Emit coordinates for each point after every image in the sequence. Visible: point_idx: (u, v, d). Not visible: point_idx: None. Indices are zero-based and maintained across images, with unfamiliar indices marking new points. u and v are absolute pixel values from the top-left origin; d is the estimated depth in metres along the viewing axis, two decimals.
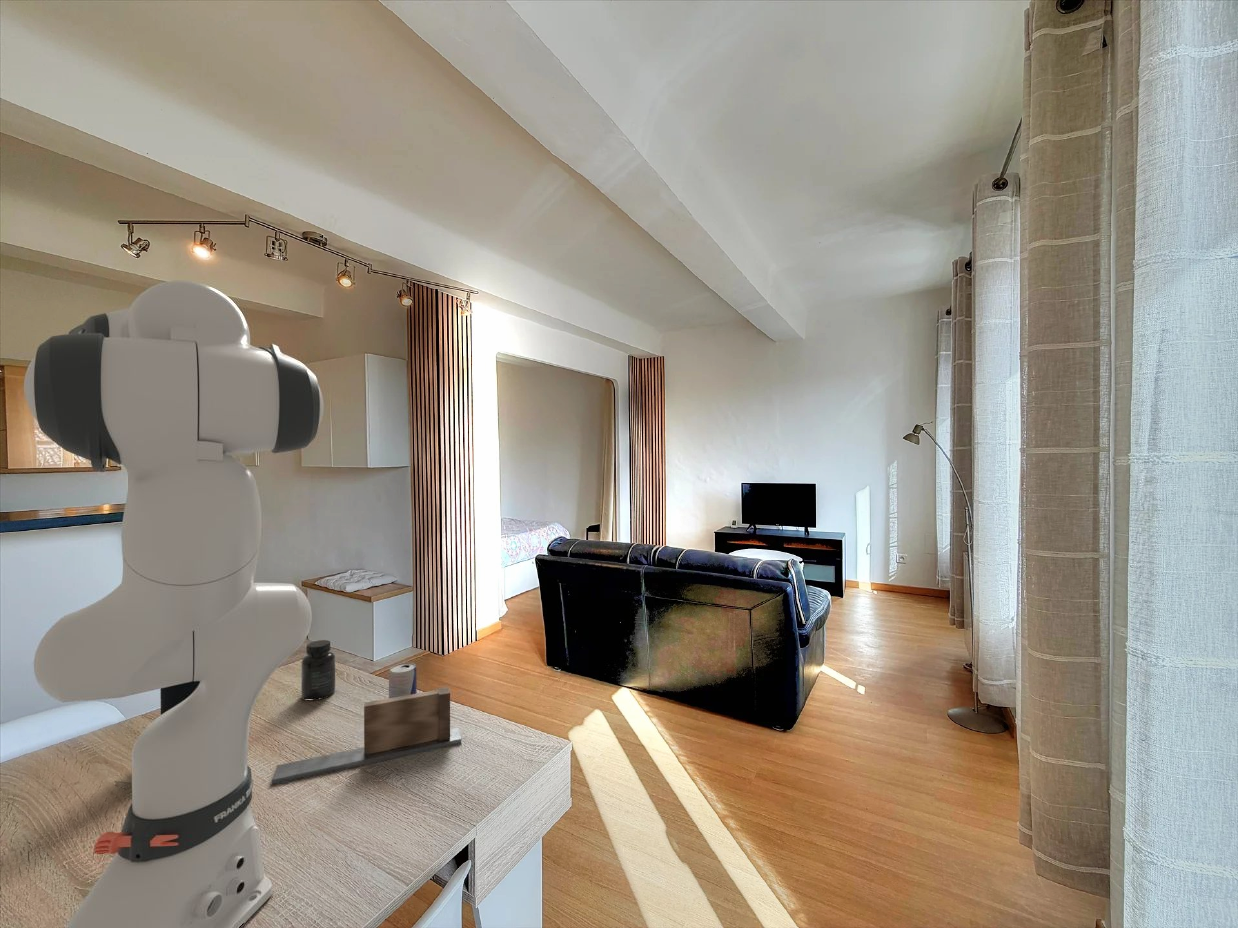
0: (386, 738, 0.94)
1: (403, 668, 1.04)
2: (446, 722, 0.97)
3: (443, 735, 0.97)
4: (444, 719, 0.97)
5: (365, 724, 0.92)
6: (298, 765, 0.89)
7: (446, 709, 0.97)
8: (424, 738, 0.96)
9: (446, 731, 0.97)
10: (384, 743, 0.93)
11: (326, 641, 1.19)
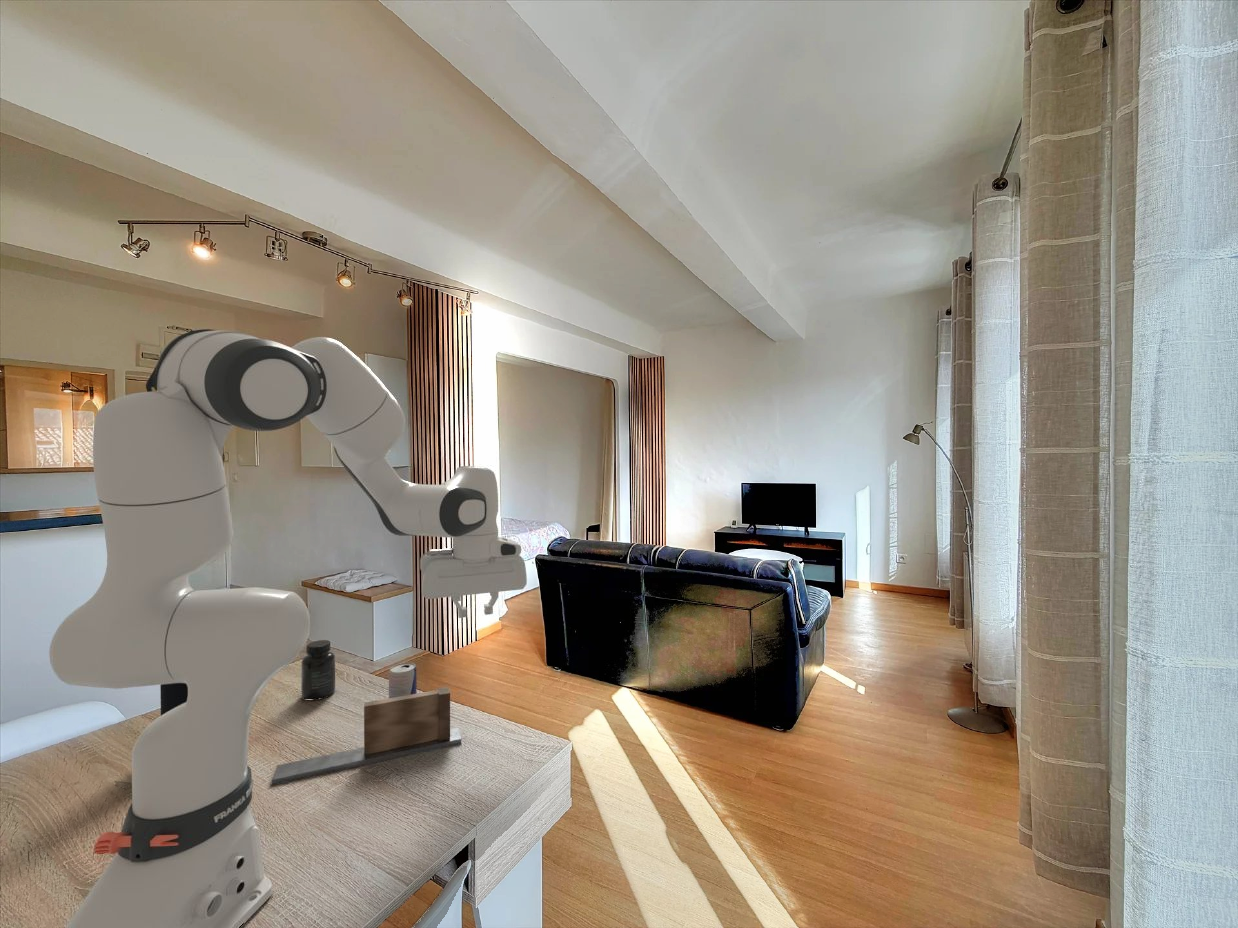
0: (386, 738, 0.94)
1: (403, 668, 1.04)
2: (446, 722, 0.97)
3: (443, 735, 0.97)
4: (444, 719, 0.97)
5: (365, 724, 0.92)
6: (298, 765, 0.89)
7: (446, 709, 0.97)
8: (424, 738, 0.96)
9: (446, 731, 0.97)
10: (384, 743, 0.93)
11: (326, 641, 1.19)
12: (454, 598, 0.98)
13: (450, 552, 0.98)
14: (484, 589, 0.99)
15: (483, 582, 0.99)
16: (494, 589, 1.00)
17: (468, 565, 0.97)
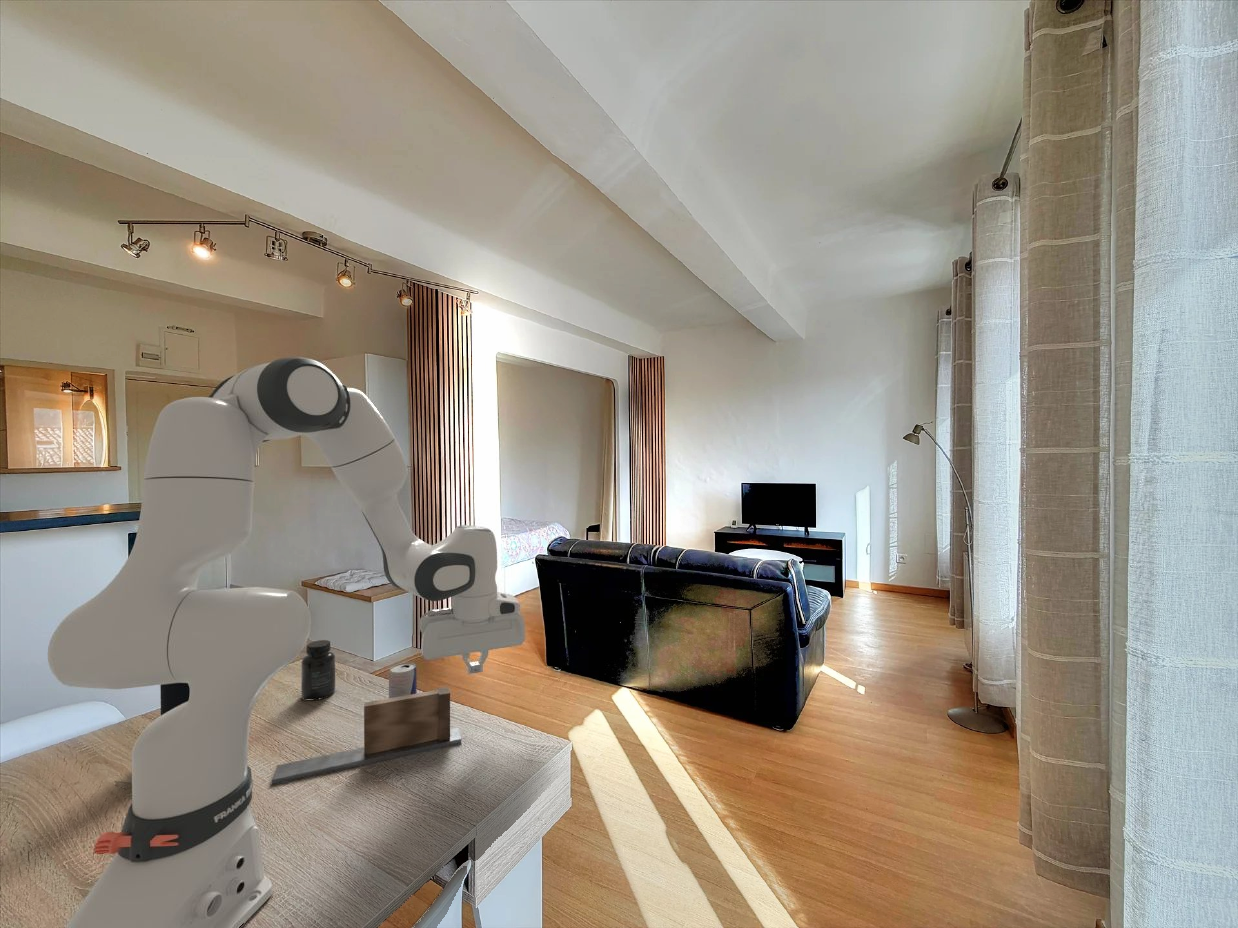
0: (386, 738, 0.94)
1: (403, 668, 1.04)
2: (446, 722, 0.97)
3: (443, 735, 0.97)
4: (444, 719, 0.97)
5: (365, 724, 0.92)
6: (298, 765, 0.89)
7: (446, 709, 0.97)
8: (424, 738, 0.96)
9: (446, 731, 0.97)
10: (384, 743, 0.93)
11: (326, 641, 1.19)
12: (463, 656, 0.99)
13: (449, 612, 0.98)
14: (483, 647, 1.00)
15: (482, 640, 1.00)
16: (493, 646, 1.01)
17: (467, 625, 0.98)
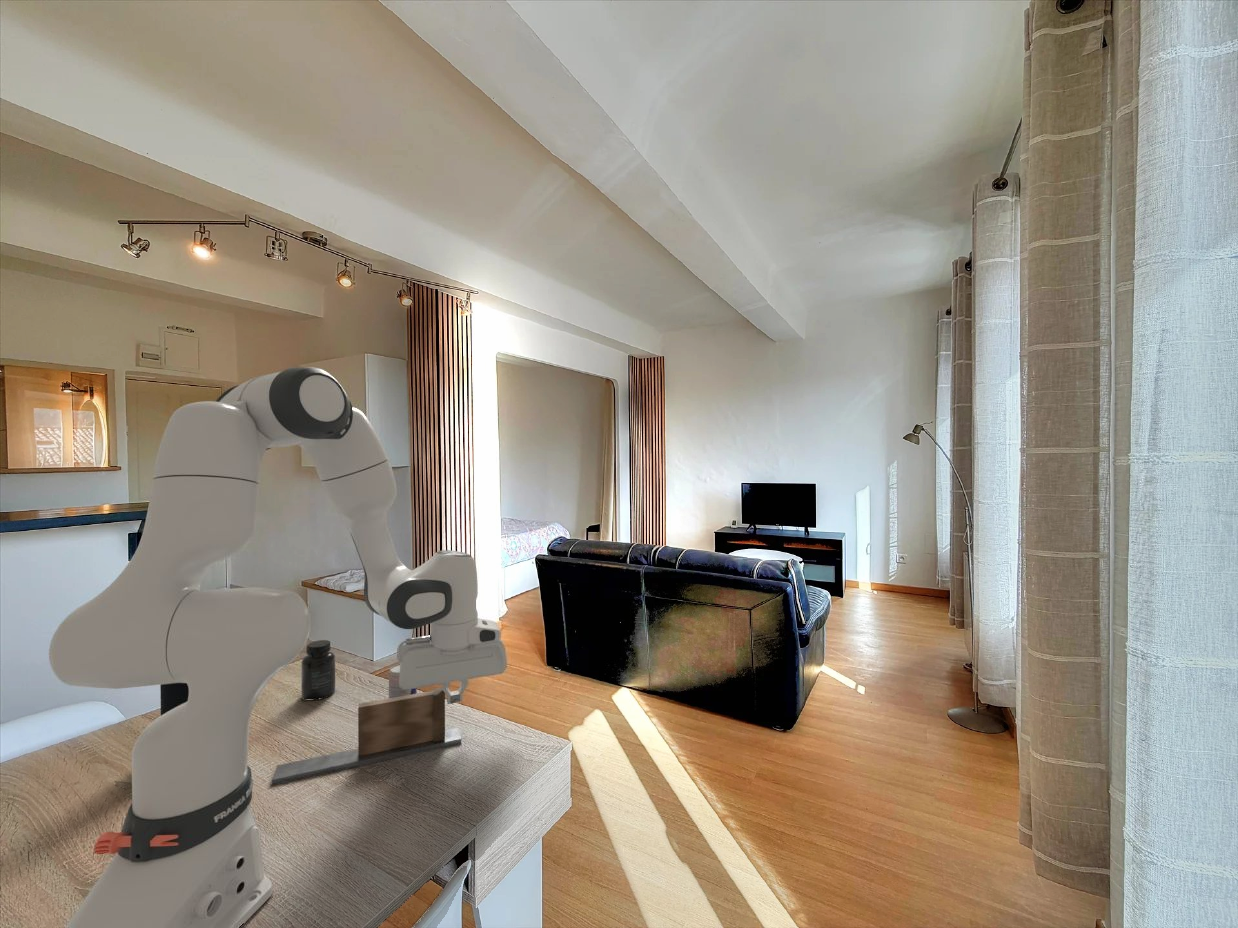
0: (380, 740, 0.93)
1: None
2: (441, 723, 0.97)
3: (438, 736, 0.97)
4: (439, 720, 0.97)
5: (359, 725, 0.92)
6: (298, 765, 0.89)
7: (441, 710, 0.97)
8: (419, 739, 0.96)
9: (441, 732, 0.97)
10: (378, 744, 0.93)
11: (326, 641, 1.19)
12: (442, 685, 0.97)
13: (428, 640, 0.96)
14: (463, 676, 0.98)
15: (462, 669, 0.98)
16: (473, 675, 0.99)
17: (446, 653, 0.96)
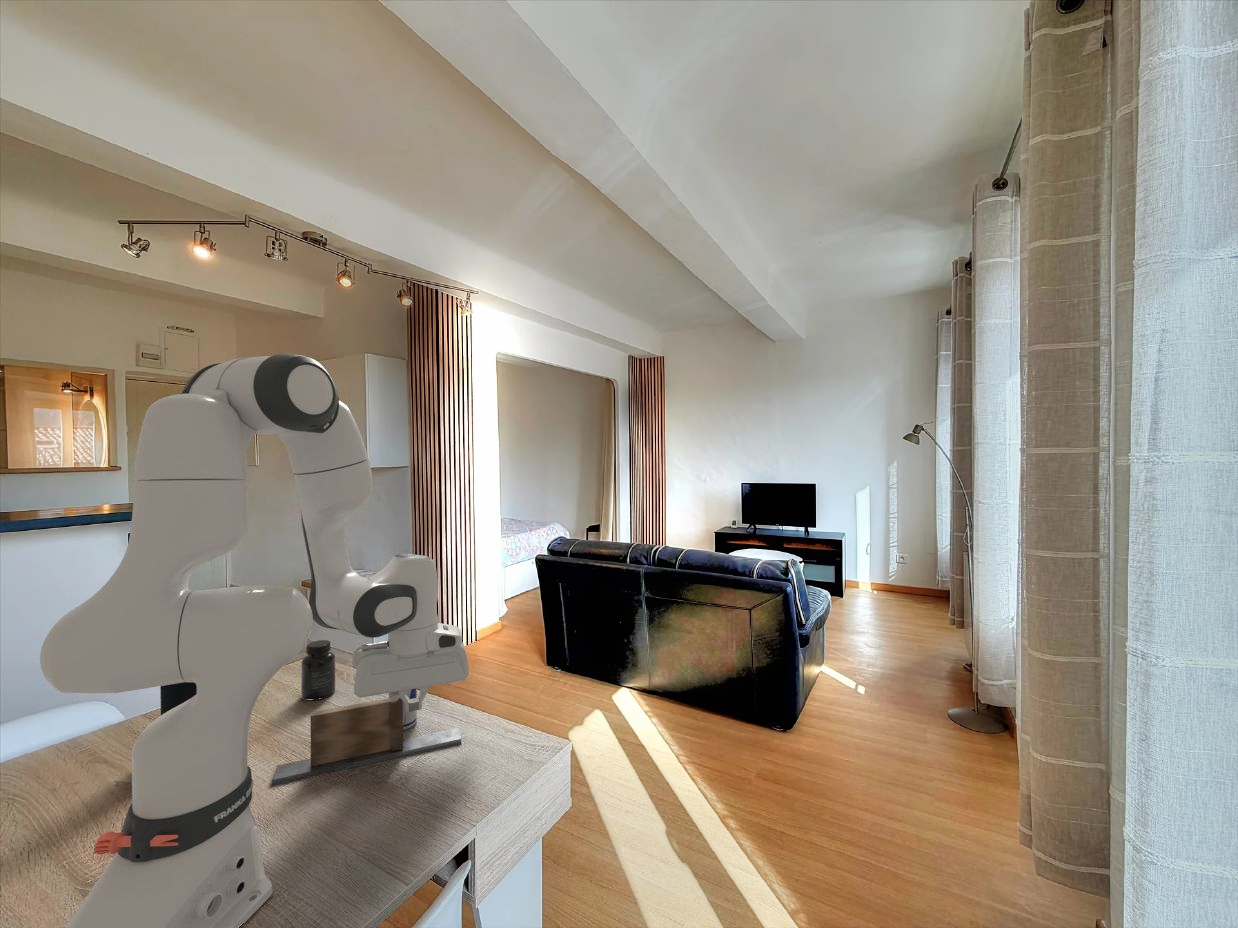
0: (334, 749, 0.90)
1: None
2: (399, 732, 0.94)
3: (396, 745, 0.94)
4: (396, 728, 0.94)
5: (312, 734, 0.89)
6: (298, 765, 0.89)
7: (398, 718, 0.94)
8: (375, 749, 0.93)
9: (398, 741, 0.94)
10: (332, 754, 0.90)
11: (326, 641, 1.19)
12: (400, 692, 0.94)
13: (385, 646, 0.93)
14: (422, 683, 0.95)
15: (421, 676, 0.95)
16: (432, 682, 0.95)
17: (403, 660, 0.93)
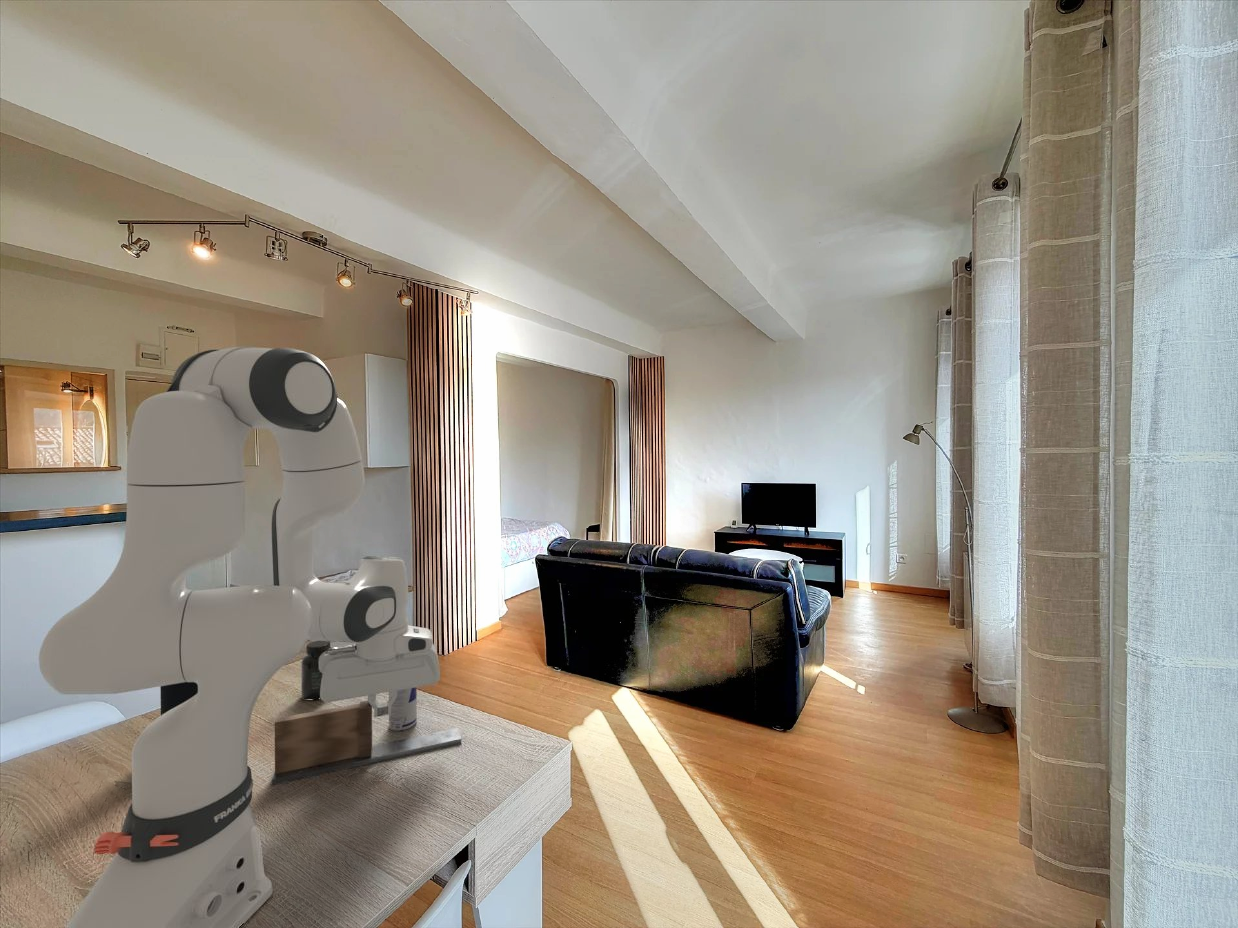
0: (300, 756, 0.88)
1: None
2: (367, 738, 0.92)
3: (364, 752, 0.91)
4: (364, 735, 0.91)
5: (276, 741, 0.86)
6: None
7: (367, 724, 0.92)
8: (343, 756, 0.91)
9: (367, 748, 0.92)
10: (297, 761, 0.88)
11: (326, 641, 1.19)
12: (368, 697, 0.92)
13: (353, 649, 0.91)
14: (391, 687, 0.93)
15: (390, 680, 0.93)
16: (402, 686, 0.94)
17: (371, 664, 0.91)
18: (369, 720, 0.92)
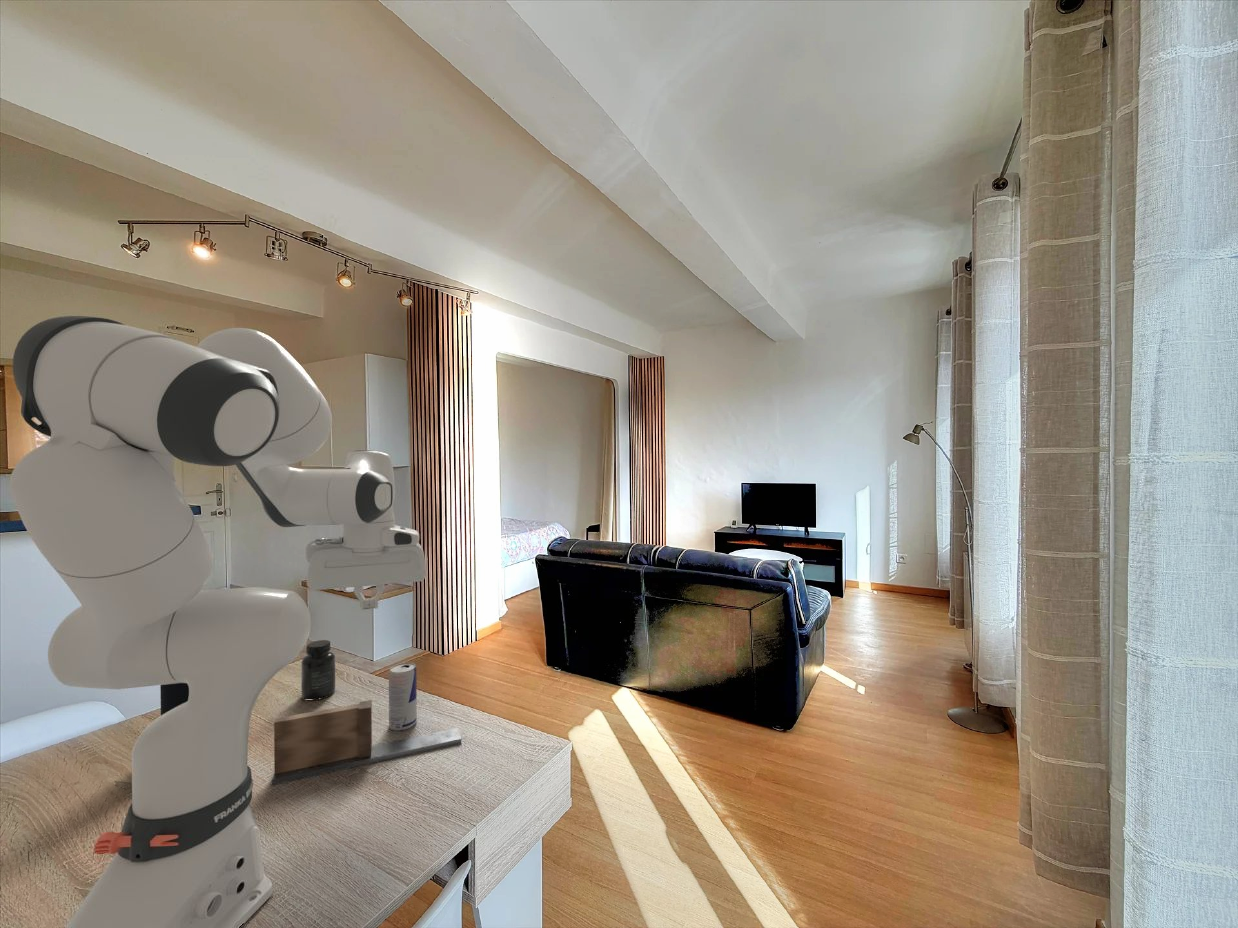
0: (299, 756, 0.88)
1: (403, 668, 1.04)
2: (367, 738, 0.92)
3: (363, 752, 0.91)
4: (364, 735, 0.91)
5: (275, 741, 0.86)
6: None
7: (366, 724, 0.92)
8: (342, 756, 0.91)
9: (366, 748, 0.92)
10: (297, 761, 0.88)
11: (326, 641, 1.19)
12: (355, 589, 0.93)
13: (340, 541, 0.93)
14: (377, 580, 0.94)
15: (376, 573, 0.94)
16: (388, 580, 0.95)
17: (358, 555, 0.92)
18: (369, 720, 0.92)
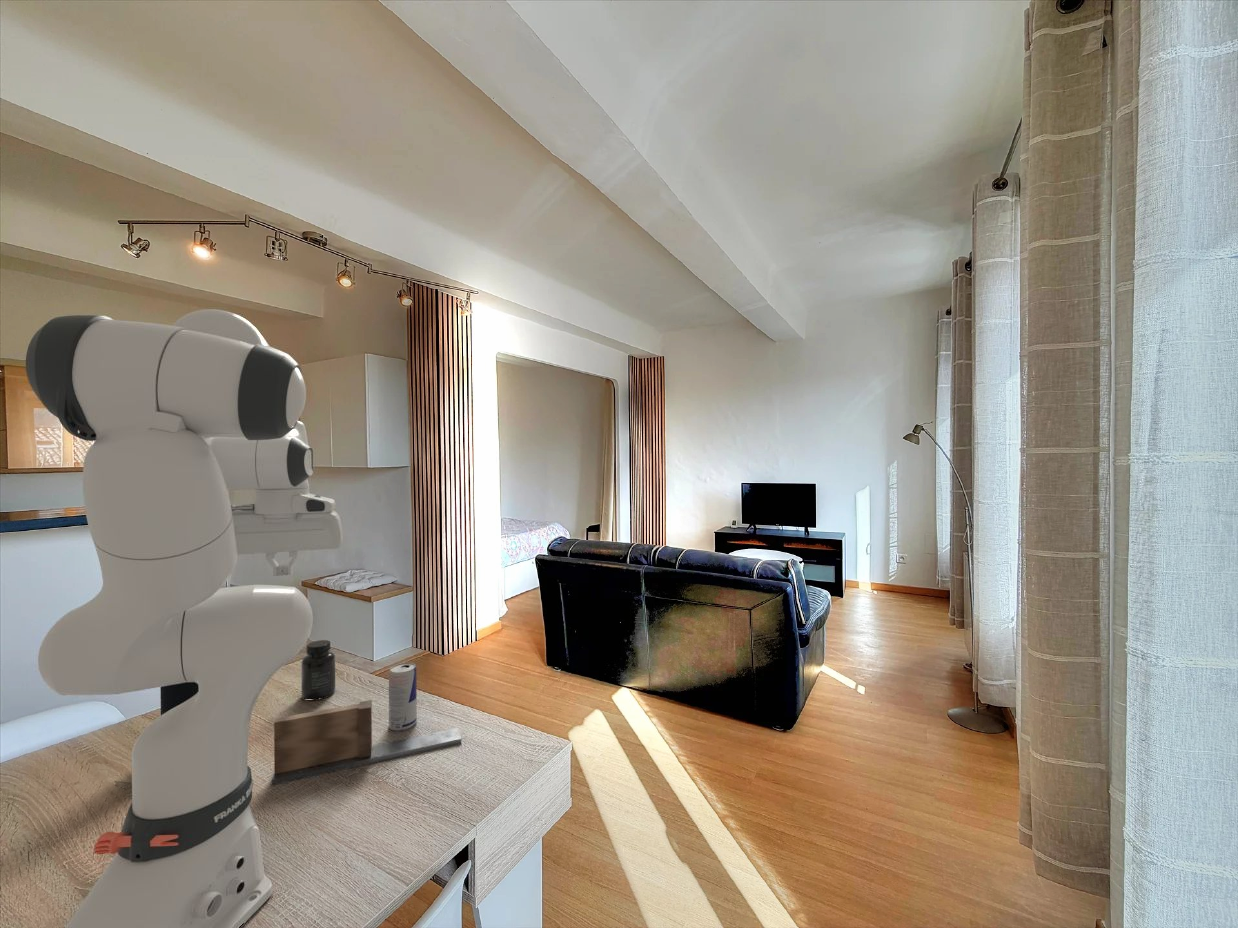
0: (299, 756, 0.88)
1: (403, 668, 1.04)
2: (367, 738, 0.92)
3: (363, 752, 0.91)
4: (364, 735, 0.91)
5: (275, 741, 0.86)
6: None
7: (366, 724, 0.92)
8: (342, 756, 0.91)
9: (366, 748, 0.92)
10: (297, 761, 0.88)
11: (326, 641, 1.19)
12: (267, 555, 0.94)
13: (251, 508, 0.94)
14: (290, 547, 0.95)
15: (288, 539, 0.95)
16: (301, 547, 0.96)
17: (268, 521, 0.93)
18: (369, 720, 0.92)
